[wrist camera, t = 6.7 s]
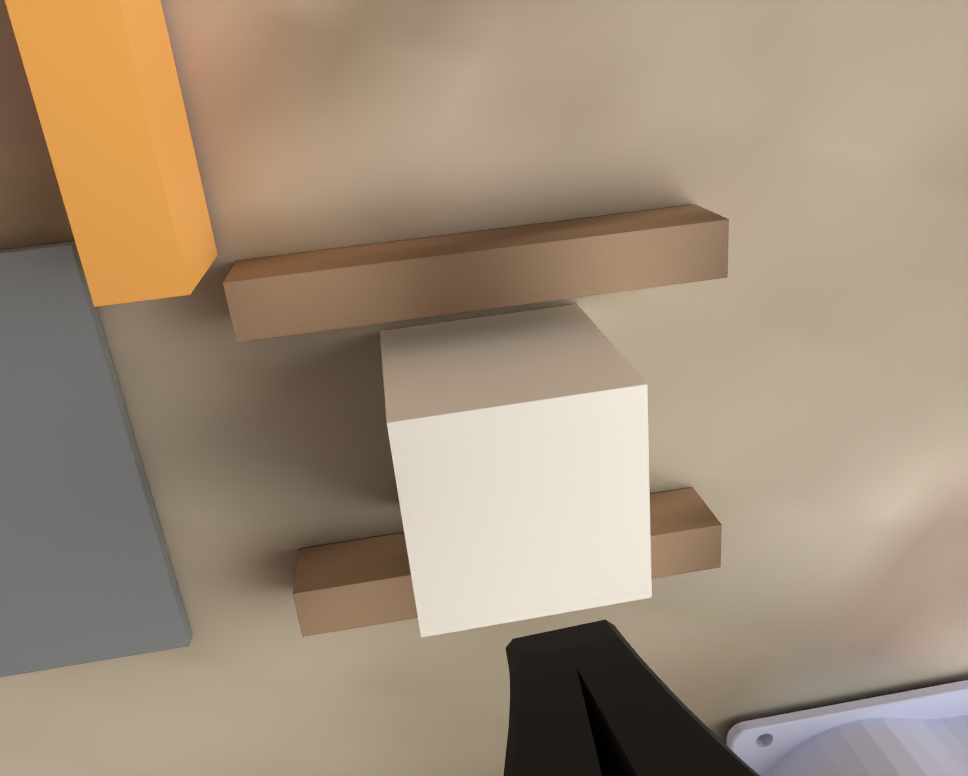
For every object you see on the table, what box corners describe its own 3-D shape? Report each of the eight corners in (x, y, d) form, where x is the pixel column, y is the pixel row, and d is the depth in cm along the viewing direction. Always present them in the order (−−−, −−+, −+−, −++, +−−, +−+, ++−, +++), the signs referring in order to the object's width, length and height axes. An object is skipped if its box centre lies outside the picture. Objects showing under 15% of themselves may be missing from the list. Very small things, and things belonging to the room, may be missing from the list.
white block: (575, 303, 19) (647, 383, 14) (585, 475, 20) (651, 597, 16) (379, 330, 18) (386, 423, 14) (406, 504, 20) (420, 637, 15)
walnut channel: (694, 204, 18) (728, 219, 16) (692, 527, 21) (720, 567, 20) (236, 261, 17) (223, 283, 15) (306, 589, 20) (302, 636, 19)
